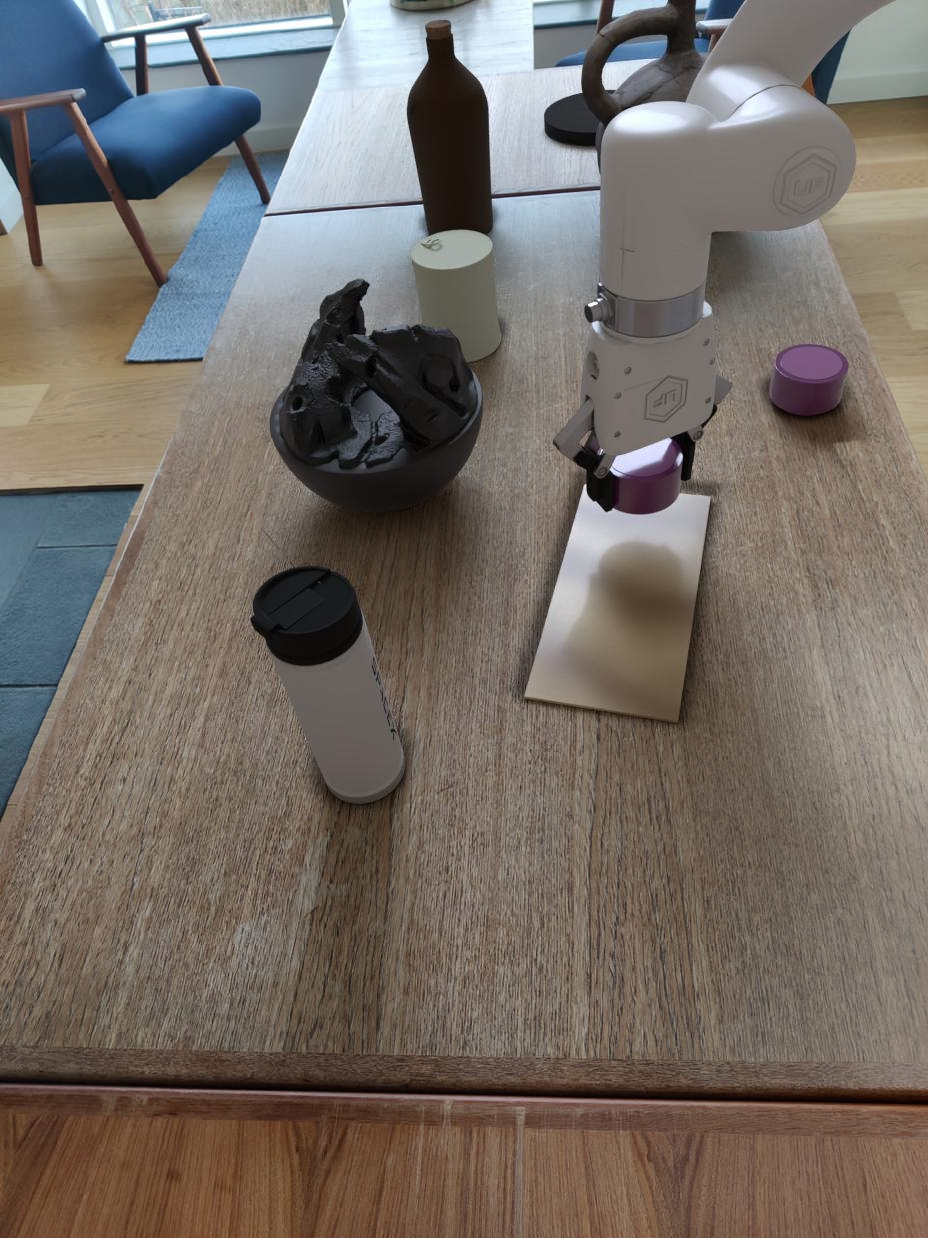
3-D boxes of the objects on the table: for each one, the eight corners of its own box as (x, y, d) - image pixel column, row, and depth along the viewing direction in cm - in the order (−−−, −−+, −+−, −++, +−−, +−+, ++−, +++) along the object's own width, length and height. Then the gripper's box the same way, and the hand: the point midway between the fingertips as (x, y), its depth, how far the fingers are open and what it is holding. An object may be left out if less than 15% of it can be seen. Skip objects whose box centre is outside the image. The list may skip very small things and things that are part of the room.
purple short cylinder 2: (825, 377, 94) (834, 338, 90) (849, 416, 89) (859, 377, 86) (759, 386, 94) (765, 348, 90) (780, 425, 89) (787, 387, 86)
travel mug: (305, 777, 68) (224, 602, 53) (367, 721, 71) (307, 540, 56) (359, 824, 65) (290, 652, 50) (422, 763, 67) (374, 584, 52)
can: (454, 314, 110) (442, 218, 101) (516, 332, 106) (509, 233, 97) (409, 352, 106) (392, 255, 97) (471, 371, 101) (460, 272, 92)
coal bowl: (449, 573, 80) (420, 399, 66) (260, 537, 86) (196, 370, 72) (517, 440, 92) (504, 268, 78) (346, 415, 98) (306, 252, 84)
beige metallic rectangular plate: (584, 486, 86) (584, 483, 86) (710, 498, 83) (711, 496, 83) (524, 698, 70) (523, 696, 70) (677, 723, 67) (678, 721, 67)
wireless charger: (536, 112, 151) (535, 99, 149) (639, 96, 151) (640, 83, 149) (554, 152, 139) (554, 139, 137) (666, 135, 139) (667, 121, 137)
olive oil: (477, 249, 121) (456, 39, 102) (410, 240, 125) (378, 36, 106) (509, 214, 127) (496, 9, 108) (444, 206, 130) (420, 8, 112)
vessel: (672, 287, 109) (694, 0, 86) (542, 239, 120) (532, -25, 98) (787, 212, 118) (833, -65, 96) (657, 174, 130) (671, -81, 108)
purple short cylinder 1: (669, 465, 80) (672, 424, 77) (687, 516, 76) (692, 475, 72) (592, 475, 81) (592, 434, 77) (606, 526, 76) (607, 485, 73)
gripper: (570, 360, 60) (573, 548, 73) (783, 284, 64) (749, 477, 77) (520, 311, 65) (531, 496, 78) (721, 244, 68) (699, 432, 82)
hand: (639, 485), depth 77 cm, fingers closed on purple short cylinder 1, 7 cm apart
